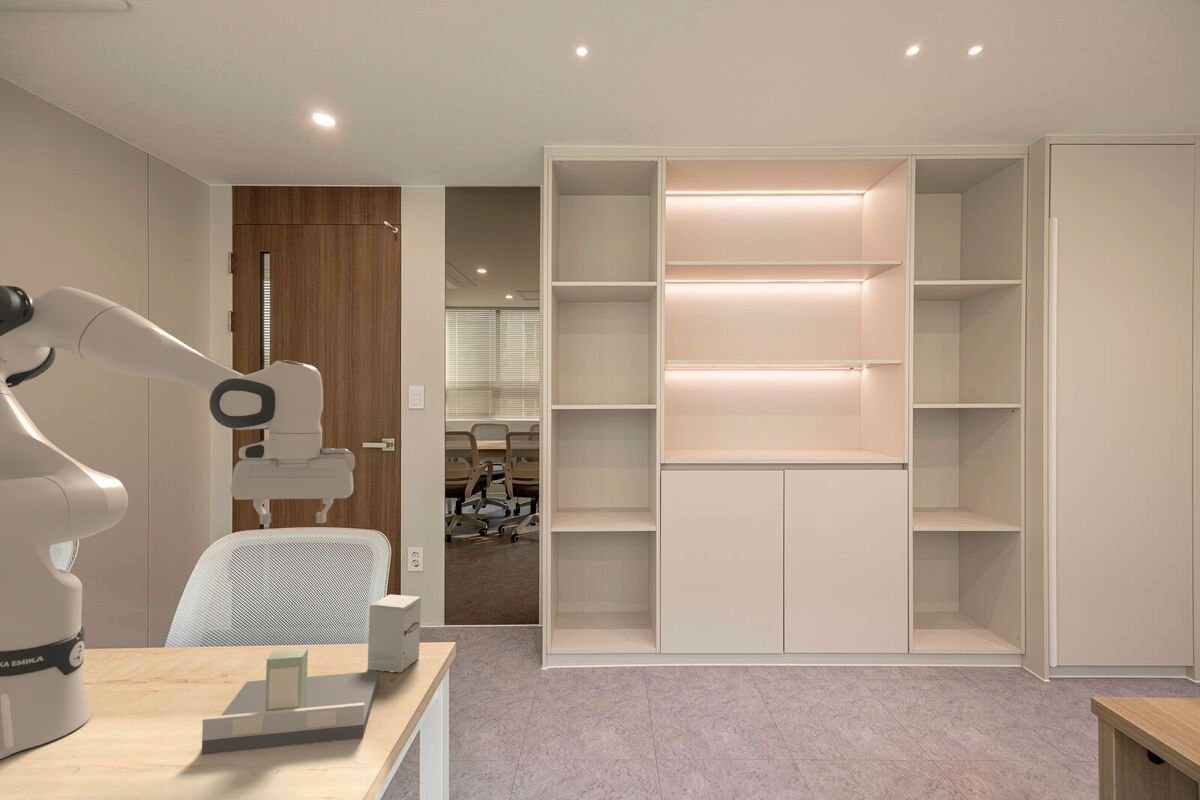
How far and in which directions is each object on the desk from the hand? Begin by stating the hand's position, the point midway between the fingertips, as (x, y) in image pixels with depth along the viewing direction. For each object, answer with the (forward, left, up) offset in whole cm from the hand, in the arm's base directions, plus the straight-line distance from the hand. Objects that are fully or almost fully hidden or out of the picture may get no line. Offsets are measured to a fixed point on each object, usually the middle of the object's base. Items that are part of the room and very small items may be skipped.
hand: (293, 522), depth 110 cm
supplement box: (+18, +4, -29) cm, 35 cm away
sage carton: (+4, -18, -27) cm, 33 cm away
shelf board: (+5, -13, -29) cm, 32 cm away
